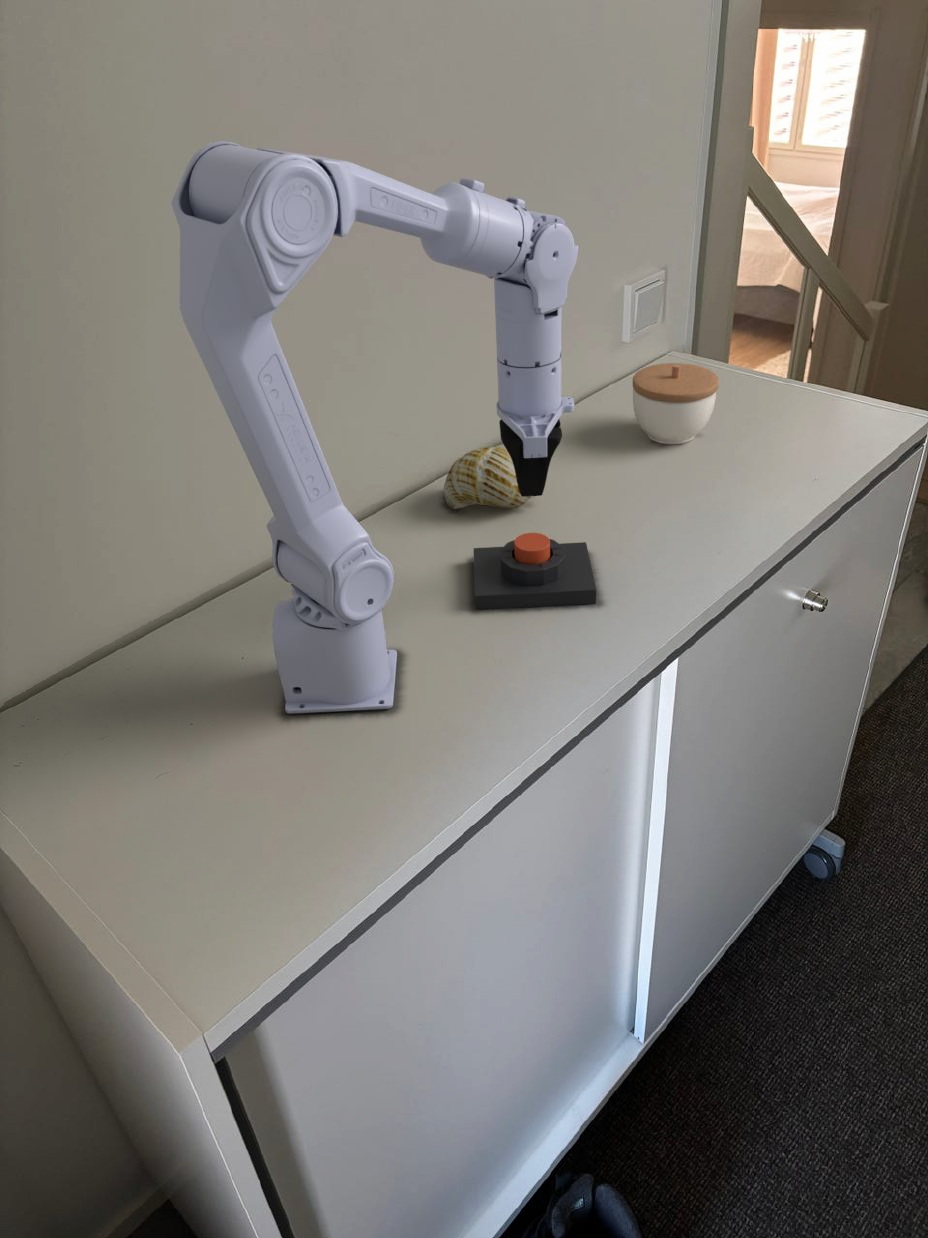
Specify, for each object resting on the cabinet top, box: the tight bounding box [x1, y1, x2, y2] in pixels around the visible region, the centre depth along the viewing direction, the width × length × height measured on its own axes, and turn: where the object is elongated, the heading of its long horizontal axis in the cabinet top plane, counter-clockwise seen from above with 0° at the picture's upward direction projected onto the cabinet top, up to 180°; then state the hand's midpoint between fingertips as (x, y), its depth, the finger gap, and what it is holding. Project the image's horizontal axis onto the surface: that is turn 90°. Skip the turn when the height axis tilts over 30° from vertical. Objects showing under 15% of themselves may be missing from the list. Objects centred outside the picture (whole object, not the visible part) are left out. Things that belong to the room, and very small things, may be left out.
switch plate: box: [473, 538, 597, 611], centre depth 94 cm, size 12×9×4 cm
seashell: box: [443, 443, 532, 510], centre depth 108 cm, size 10×10×10 cm
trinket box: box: [632, 362, 720, 445], centre depth 119 cm, size 11×11×9 cm
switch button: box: [514, 532, 550, 565], centre depth 93 cm, size 4×4×2 cm
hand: (531, 492), depth 89 cm, fingers closed
